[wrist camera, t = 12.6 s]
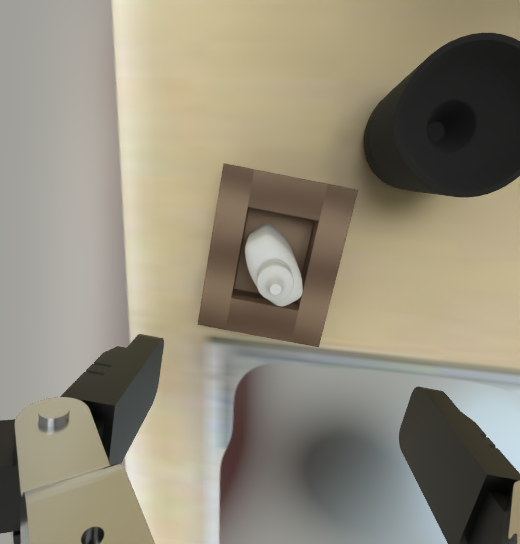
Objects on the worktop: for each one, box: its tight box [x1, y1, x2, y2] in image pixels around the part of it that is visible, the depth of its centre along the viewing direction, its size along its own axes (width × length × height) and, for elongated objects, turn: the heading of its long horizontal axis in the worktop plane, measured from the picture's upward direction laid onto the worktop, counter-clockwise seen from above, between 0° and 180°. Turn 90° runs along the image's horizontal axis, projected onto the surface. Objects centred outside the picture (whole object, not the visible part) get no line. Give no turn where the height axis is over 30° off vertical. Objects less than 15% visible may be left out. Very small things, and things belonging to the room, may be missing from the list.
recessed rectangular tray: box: [198, 164, 358, 347], centre depth 32 cm, size 14×11×4 cm
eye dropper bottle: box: [245, 223, 303, 307], centre depth 28 cm, size 4×6×12 cm
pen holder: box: [364, 33, 520, 197], centre depth 27 cm, size 9×9×10 cm
